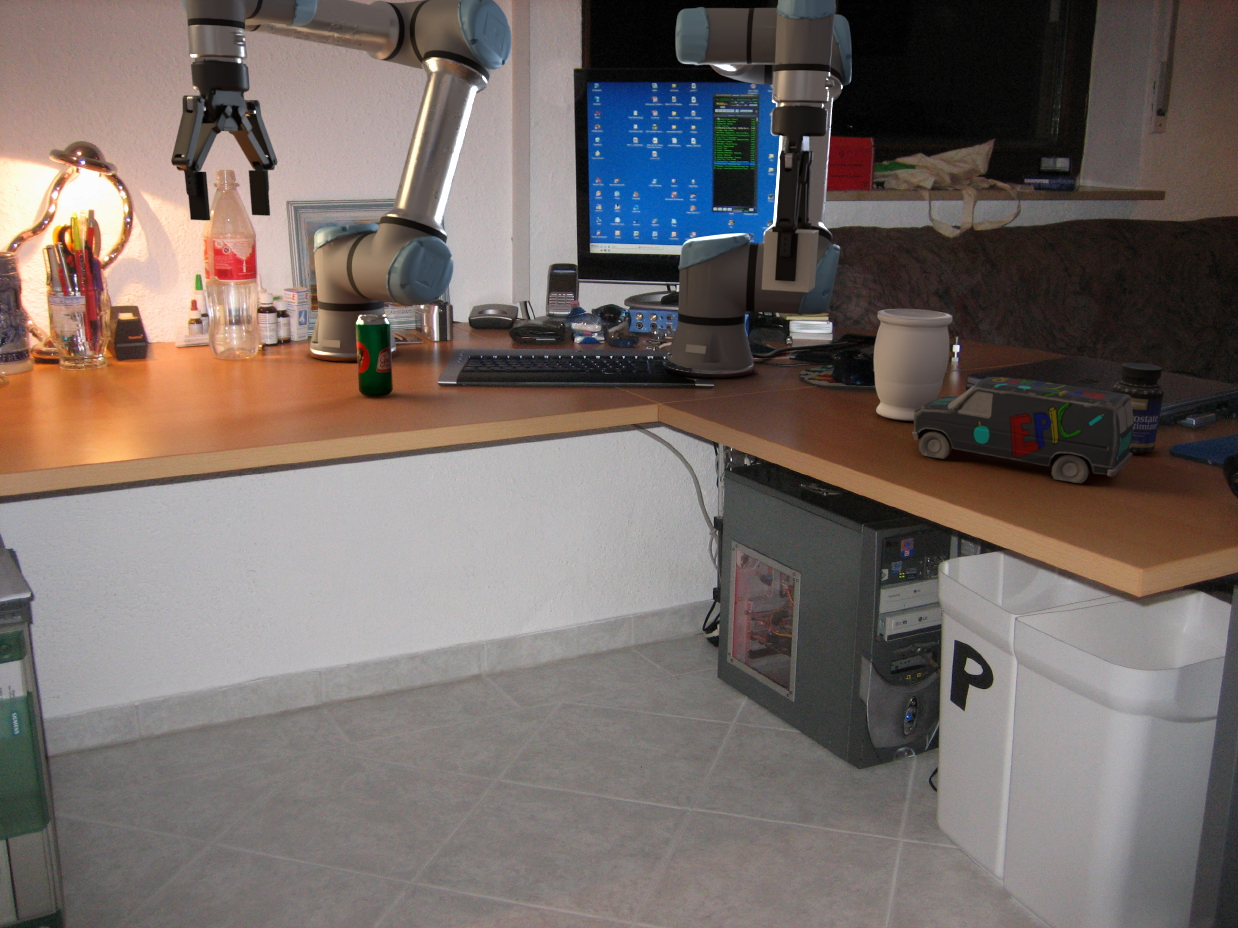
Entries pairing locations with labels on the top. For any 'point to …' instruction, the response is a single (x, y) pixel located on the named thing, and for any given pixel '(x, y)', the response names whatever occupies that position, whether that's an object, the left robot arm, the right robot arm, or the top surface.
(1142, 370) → the pill bottle
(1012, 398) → the toy van
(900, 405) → the jar
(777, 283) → the block
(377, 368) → the soda can
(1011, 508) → the top surface
